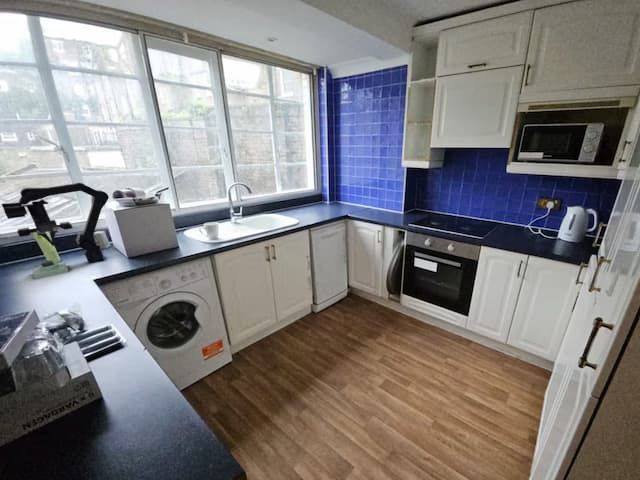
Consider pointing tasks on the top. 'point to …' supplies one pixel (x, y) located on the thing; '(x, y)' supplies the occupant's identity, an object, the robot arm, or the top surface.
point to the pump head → (47, 263)
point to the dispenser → (49, 270)
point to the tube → (47, 248)
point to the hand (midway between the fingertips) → (53, 245)
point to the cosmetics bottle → (101, 239)
